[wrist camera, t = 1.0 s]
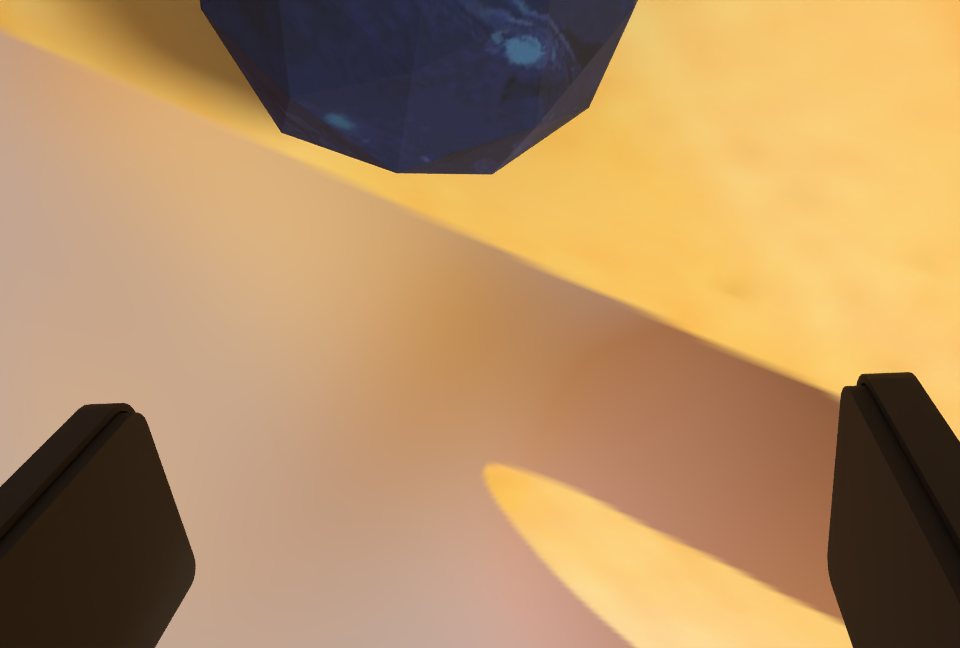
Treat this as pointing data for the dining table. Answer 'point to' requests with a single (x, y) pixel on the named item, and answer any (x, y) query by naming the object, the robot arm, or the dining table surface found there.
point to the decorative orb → (422, 73)
